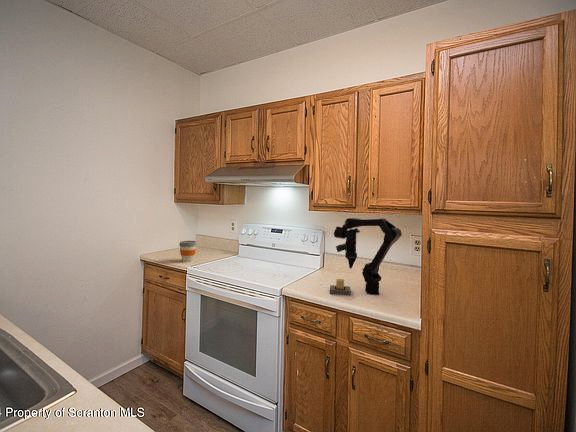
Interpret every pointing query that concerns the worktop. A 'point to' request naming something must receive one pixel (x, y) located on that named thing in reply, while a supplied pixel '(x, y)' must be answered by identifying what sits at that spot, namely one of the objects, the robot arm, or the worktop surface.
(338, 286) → the brass block
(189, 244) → the reusable coffee cup
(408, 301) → the worktop surface
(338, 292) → the steel rail
